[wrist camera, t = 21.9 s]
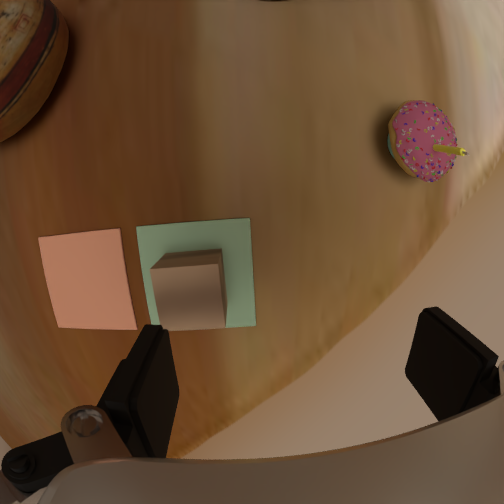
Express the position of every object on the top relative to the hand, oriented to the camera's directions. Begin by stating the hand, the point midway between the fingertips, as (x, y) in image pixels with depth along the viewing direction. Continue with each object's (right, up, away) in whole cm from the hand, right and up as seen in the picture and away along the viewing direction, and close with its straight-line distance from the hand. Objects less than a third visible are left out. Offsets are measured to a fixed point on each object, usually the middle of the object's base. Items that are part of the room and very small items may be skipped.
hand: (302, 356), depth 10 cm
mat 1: (-22, 0, +21) cm, 30 cm away
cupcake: (+16, +16, +19) cm, 30 cm away
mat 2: (-8, +1, +22) cm, 23 cm away
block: (-8, +1, +21) cm, 23 cm away
